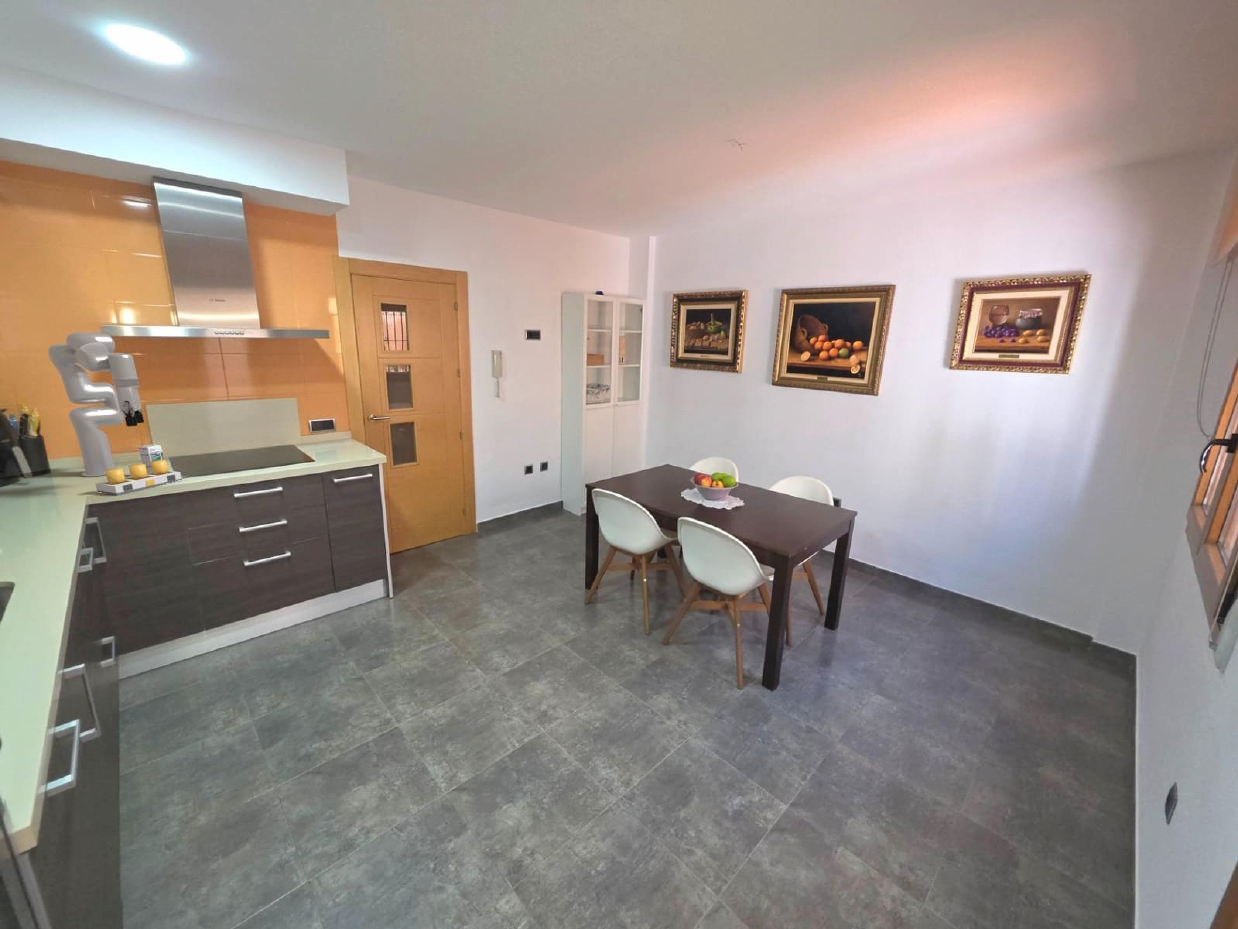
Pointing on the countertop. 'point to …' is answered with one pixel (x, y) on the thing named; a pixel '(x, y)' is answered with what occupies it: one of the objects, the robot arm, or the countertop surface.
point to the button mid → (138, 471)
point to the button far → (159, 467)
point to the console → (138, 483)
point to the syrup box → (150, 455)
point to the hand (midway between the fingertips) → (135, 424)
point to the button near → (115, 476)
